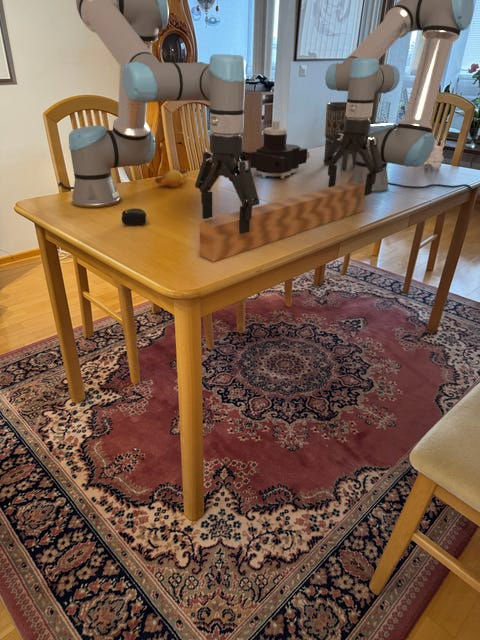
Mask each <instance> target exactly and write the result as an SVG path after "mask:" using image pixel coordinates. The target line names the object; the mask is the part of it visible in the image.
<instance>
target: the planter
mask: <svg viewBox="0 0 480 640" xmlns="http://www.w3.org/2000/svg"><path fill="white" fill-rule="evenodd" d="M346 106H347V101H333V102H327V103H326V109H325V124H324V125H325V126H324V139H325V144H324V156H323V157H324V158H325V156H326V155H327V153H328V151H329V149H330V147H331V145H332V143H333V141H334V136H335V134H337V133H342V134H343V135H344V123H345V120H346V118H347V117H346V116H345V115H346ZM369 119H370V120H371V117H370V118H369ZM343 144H344V142H343V140H342V141H341V143H340V145H339V146H338V148H340V147H342V145H343ZM338 148H337V149H338ZM348 152H349V151H348V150H347V151H346V152H345V153H344V155H343V156H342V157H341V166H340V170H341V172H345V171H347V167H348V166H347V165H348V159H349V154H348ZM351 153H352V154H351V157H352V158H351V159H352V160H351V161H352V166H353V167H355V165H356V158H357V152H353V151H351ZM324 158H323V159H324ZM323 165H325V166H328V164H327V163H324V162H323Z"/></svg>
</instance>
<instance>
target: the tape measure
mask: <svg viewBox="0 0 480 640" xmlns="http://www.w3.org/2000/svg"><path fill="white" fill-rule="evenodd" d="M146 218H147V214H146V212H145V210H144V209H142V208H137V207H135V208H127V209H125V210H123V211H122V213H121V222H122V224H124V225H129V226H130V225H131V226H137V225H146V224H147V219H146Z"/></svg>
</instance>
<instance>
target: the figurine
mask: <svg viewBox="0 0 480 640" xmlns="http://www.w3.org/2000/svg"><path fill="white" fill-rule="evenodd" d="M434 142H435V144H434V147H433V150H432V152H431V154H430V156H429V158H428V159H427V161H426V162H425V163H424V164H423V165H422V167H423V168H424V169H433V170H437V171H439V168H440V167H441V165H442V162H443V161H444V155H443V154H444V151H443V149H444V147H445V145H446V143H445V142H444V141H443V140H442V139H440V145H437V144H438V142H437V139H435V141H434Z"/></svg>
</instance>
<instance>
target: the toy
mask: <svg viewBox="0 0 480 640" xmlns="http://www.w3.org/2000/svg"><path fill="white" fill-rule="evenodd" d="M188 177H189V172H188V170H187V169H182V170H176V169H170V170H167V171H166V172H164V174H163V175H161V176H160V177H156V178H154V182H155V183H157V184H161V185H163V186H167V187H169V188H179V187H182V186H184V185H186V183H187V178H188Z"/></svg>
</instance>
